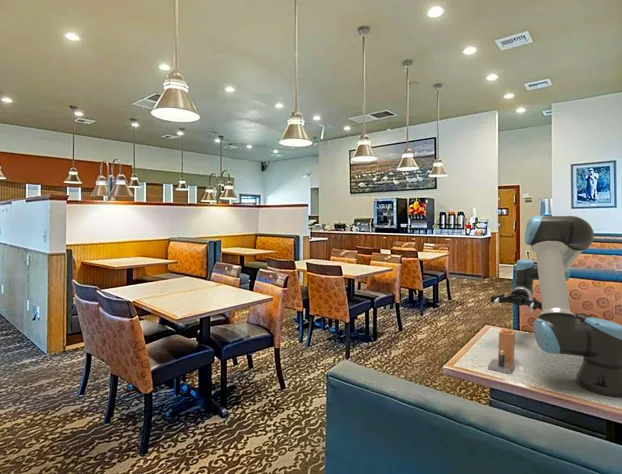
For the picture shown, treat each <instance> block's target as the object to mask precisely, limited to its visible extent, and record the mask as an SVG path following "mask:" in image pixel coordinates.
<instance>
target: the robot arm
mask: <svg viewBox="0 0 622 474" xmlns="http://www.w3.org/2000/svg"><path fill="white" fill-rule="evenodd" d="M592 227H593V226H591V224H590V223H589V222H587V220H585V219H583V218H582V217H578V216H574V215H566V216H565V215H537V216H535V215H534V216H532V217H530V218H529V219H528V221H527V223H526V227H525V233H524V244H526V245H528V246H530V249H531V251H532V253H533V252H534V253H535V255H536V256H535V257H536V264H535V262H534V260H531V259H518V260H517V261H516V266H515V282H514V289H513V290H512V292H511V293H510V294H508V295H506V294H505V293H501V294H498V295H497V294H496V295H492V296H490V302H491V303H492V304H493V307H494V308H497V307H498V306H499V305H500V304H501V303H502V304H505V303H508V304H514V305H516V306H520V307H521V306H527V307H529V313H530V314H532V313H533V311H534V310H535V311H536V310H537V309H539V310H542V311H541V312H540V313H539V314H538V318H537V319H535V320H534V322H533V327H534V328H533V334H534V337H535V341H536V343H537V345H538V347H539V349H540V350H541V351H542V352H543V353H547V354H548V353H549V354H555V355H568V356H578V357H583V359H582V363H581V365H580V367H579V369H578V372H577V373H576V377H575V379H576V380H575V381H576V383H577V384H578V386H580V387H581V388H583V389H585V390H587V391H590V392H592V393H596V394H599V395H602V396H607V397H608V396H609V397H615V396H616V398H617V397H618V398H621V397H622V325H621V324H619V323H617V322H614V321H611V320H606V319H602V318H597V317H594V318H586V319H585V320H584V321H585V322H577V320H576V315H575V313H574V312H572V311H571V309H570V308H571V307H570V299H569V293H568V288H567V287H568V286H567V281H568V280H569V279H570V277H571V270H570V268H571V266H572V265H573V264H574V262H575V261H576V260H577V259H578V257H579V256H580V255H581V253H582V252H583V251H586V250H588V249H589V248H590V246H591V245H592V244H593V242H594V239H595V233H594V229H593V228H592ZM534 281H539V282H538V283H539V291H540V298H541V299H540V300H541V301H539V300H538V299H537V298H536V297H532V296H533V295H534V288H533V287H534V286H533V285H534Z"/></svg>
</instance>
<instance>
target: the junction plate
mask: <svg viewBox="0 0 622 474" xmlns="http://www.w3.org/2000/svg"><path fill="white" fill-rule="evenodd" d="M498 352H499V360H498V359H495V358H492V359H491V360H490V362H489V363H488V365H487V369H488V370H490V369H493V370H492V371H495V370H496V371H495V372H499V371H500V372H499V373H503V374H504V373H505V374H509V375H511V374H512V373H513V371H514V370H515V368H516V364H515V362H513V363H510V362H505V351H504V350H499V349H498Z"/></svg>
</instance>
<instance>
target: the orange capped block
mask: <svg viewBox="0 0 622 474" xmlns="http://www.w3.org/2000/svg"><path fill="white" fill-rule="evenodd" d="M515 344H516V331H514V330H512V329H510V328H502V329H500V330H499V332H498V357H497V360H499V350H504V351H505V362H510V363H514V361H515V346H516V345H515Z"/></svg>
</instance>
